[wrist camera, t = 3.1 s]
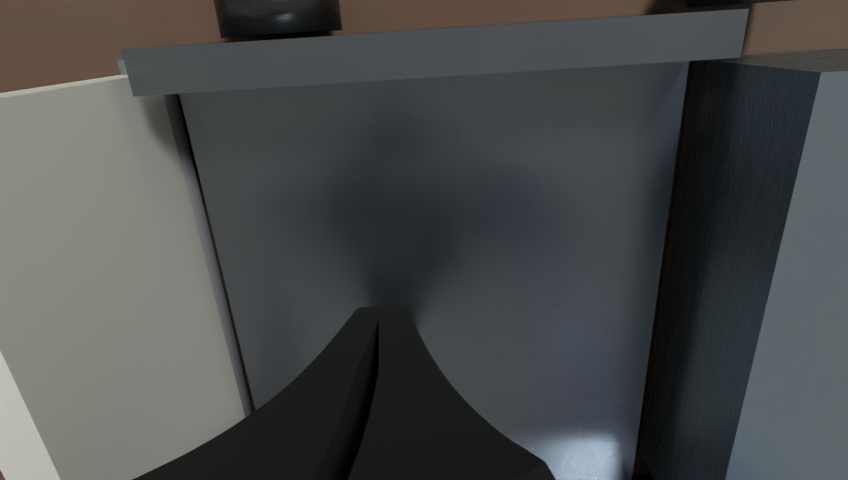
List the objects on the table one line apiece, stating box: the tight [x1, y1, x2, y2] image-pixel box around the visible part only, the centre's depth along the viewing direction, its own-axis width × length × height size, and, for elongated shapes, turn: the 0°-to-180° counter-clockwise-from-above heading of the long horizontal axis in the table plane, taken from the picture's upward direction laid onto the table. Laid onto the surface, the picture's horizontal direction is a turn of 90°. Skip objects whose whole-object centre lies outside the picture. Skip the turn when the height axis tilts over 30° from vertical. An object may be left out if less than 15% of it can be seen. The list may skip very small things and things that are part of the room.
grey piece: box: [121, 0, 848, 480], centre depth 12 cm, size 16×16×4 cm
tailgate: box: [0, 59, 254, 480], centre depth 11 cm, size 14×1×7 cm, turn 3°
